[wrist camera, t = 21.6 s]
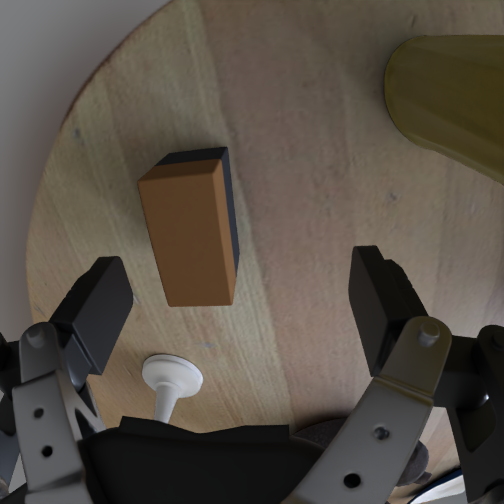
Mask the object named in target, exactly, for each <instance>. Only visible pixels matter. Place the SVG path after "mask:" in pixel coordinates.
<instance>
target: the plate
mask: <svg viewBox="0 0 504 504" xmlns="http://www.w3.org/2000/svg"><path fill="white" fill-rule="evenodd" d="M464 491H465V485H464V479H463V474H462V470H461V469H459V470H457V471H455V472H453V473H451V474H449V475H447V476H445V477H443V478H441V479H440V480H438V481H436V482H434V483H433V484H431V485H429V486H428V487H427V488H425V489H424V490H423V491H421V492H420V493H419V494H418V495H416V496H415V497H414V498H413V499H412V500H410V501H409V502H408V503H407V504H419V503H422V502H426V501H429V500H433V499H437V498H441V497H446V496H451V495H456V494H460V493H462V492H464Z"/></svg>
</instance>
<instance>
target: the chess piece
mask: <svg viewBox="0 0 504 504" xmlns="http://www.w3.org/2000/svg"><path fill="white" fill-rule="evenodd" d="M142 376H143V379H144V381H145V382H146V383H147V385H148V386H150V387H151V388H152V389H153V390H155V391H156V392H157V397H156V406H155V414H154V420H158V421H161V422H164V423H167V424H168V421H169V418H170V416H171V413H172V411H173V408H174V405H175V403H176V401H177V398H185V397H190V396H193V395H195V394H196V393H197V392H198V391H199V390H200V388H201V385H202V382H203V377H202V374H201V372H200V371H199V369H198V368H197V367H196V366H195V365H193V364H192V363H190V362H189V361H187V360H185V359H182V358H180V357H177V356H172V355H154V356H151V357H149V358H148V359H146V360H145V362H144V364H143V370H142Z"/></svg>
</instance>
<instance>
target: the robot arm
mask: <svg viewBox="0 0 504 504" xmlns="http://www.w3.org/2000/svg"><path fill="white" fill-rule="evenodd" d="M348 291H349V301H350V305H351V308H352V311H353V315H354V318H355V321H356V325H357V328H358V331H359V335H360V338H361V342H362V346H363V349H364V353H365V356H366V360H367V364H368V368H369V371H370V375H371V377H374V378H373V379H372V381H371V382H370V384H369V386H368V387H367V389H366V390H365V392H364V394H363V395H362V397H361V399H360V400H359V402H358V403H357V405H356V406H355V408H354V409H353V411H352V413H351V414H350V416H349V417H348V419H347V420H346V422H345V423H344V425H343V426H342V427H341V429H340V430H339V432H338V433H337V435H336V436H335V437H334V439H333V440H332V442H331V443H330V444H329V446H328V447H327V449H326V448H324V447H322V446H320V445H319V444H316V443H314V442H311V441H309V440H306V439H302V438H299V437H294V436H289V425H245V426H240V427H235V428H230V429H225V430H219V431H213V432H208V433H194V432H191V431H188V430H185V429H182V428H179V427H176V426H173V425H170V424H167V423H164V422H161V421H158V420H150V419H142V418H134V417H127V416H122V419H121V422H120V425H119V427H114V428H109V429H106V427H105V425H104V423H103V420H102V418H101V415H100V413H99V410H98V407H97V405H96V402H95V399H94V396H93V393H92V390H91V387H90V385H89V383H88V381H87V380H86V378H87V376H88V374H94V375H102V373H103V371H104V369H105V366H106V364H107V362H108V359H109V357H110V355H111V352H112V350H113V348H114V345H115V343H116V341H117V339H118V337H119V334H120V332H121V330H122V328H123V326H124V323H125V321H126V319H127V317H128V315H129V313H130V311H131V308H132V305H133V293H132V289H131V286H130V283H129V280H128V277H127V274H126V271H125V268H124V265H123V262H122V260H121V258H120V257H119V256H109V257H99V258H98V259H97V260H96V261H95V263H94V264H93V265H92V267H91V268H90V270H89V271H87V272H86V273H85V274H83V275H82V276H81V277H80V278H78V279H77V281H76V282H75V283H74V285H73V286H72V288H71V290H69V292H68V293H67V295H66V298H64V299H63V300H62V302H61V303H60V305H59V306H58V308H57V309H56V311H55V312H54V314H53V315H52V317H51V318H50V320H49V321H48V322H40V323H37V324H34V325H32V326H31V327H29V328H28V329H27V330H26V331H25V332H24V333H23V335H22V336H21V338H20V340H19V341H14V342H6V340H5V338H4V337H3V336H2V334H1V333H0V390H1V391H2V392H3V393H4V396H3V398H2V400H1V402H0V504H390V503H389V502H388V501H387V499H388V498H389V496H390V494H391V492H392V491H393V489H394V487H395V485H396V484H397V482H398V480H399V478H400V476H401V475H402V473H403V471H404V469H405V467H406V465H407V463H408V461H409V459H410V457H411V455H412V453H413V451H414V449H415V447H416V445H417V443H418V441H419V438H420V436H421V434H422V432H423V429H424V427H425V425H426V423H427V420H428V418H429V415H430V413H431V410H432V408H433V406H434V407H445V408H446V410H447V413H448V417H449V420H450V424H451V428H452V432H453V435H454V439H455V443H456V447H457V452H458V456H459V460H460V465H461V470H462V474H463V479H464V485H465V490H466V496H467V501H468V504H504V327H502V326H498V325H487V326H485V327H483V328H482V329H481V330H480V332H479V334H478V336H477V338H470V337H462V336H455V335H452V333H451V331H450V329H449V328H448V327H447V326H446V325H445V324H444V323H443V322H442V321H440V320H438V319H436V318H433V317H429V315H428V314H427V312H426V310H425V308H424V306H423V304H422V302H421V300H420V299H419V297H418V295H417V293H416V291H415V290H414V288H412V284H411V282H410V281H409V280H408V277H407V275H406V274H405V272H404V270H403V269H402V267H400V266H399V265H398V264H397V263H395V262H394V261H393V260H391V259H389V260H384V258H383V256H382V254H381V253H380V251H379V249H378V247H377V246H376V245H372V246H354V248H353V251H352V260H351V269H350V278H349V288H348ZM19 453H20V454H21V459H22V464H23V469H24V473H25V477H26V481H27V482H26V483H25V484H23V485H22V486H21V487H19V488H17V489H16V490H15V491H13V492H12V493H9V491H8V488H9V485H10V481H11V478H12V475H13V471H14V468H15V465H16V462H17V459H18V456H19Z"/></svg>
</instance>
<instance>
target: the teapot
mask: <svg viewBox="0 0 504 504" xmlns="http://www.w3.org/2000/svg"><path fill="white" fill-rule="evenodd" d="M347 419H348V418H342V419H337V420H331V421H327V422H323V423H319V424H316V425H313V426H310V427H307V428H305V429H303V430H301V431H299V432H296V433H295V434H294V435H292V436H294V437H299V438H302V439H306V440H309V441H311V442H314V443H316V444H319V445H320V446H322V447H324V448H326V449H327V447H328V446H329V444H330V443H331V442H332V440H333V439H334V437H335V436H336V435H337V433H338V432H339V430H340V429H341V427H342V426H343V425H344V423H345V422H346V420H347ZM428 459H429V455H428V450H427V448H426V446H425V445H424V444H423V443H421V442H420V441H418V443H417V445H416V447H415V449H414V451H413V453H412V455H411V457H410V459H409V461H408V463H407V465H406V467H405V469H404V471H403V473H402V475H401V476H400V478H399V480H398V482H397V484H396V485H395V486H398V487H399V486H405V485H409V484H411V483H416V484H422V485H423V484H426V483H427V482H428V481H429V479H430V477H431V476H432V474H431V473H428V472H425V470H426V467H427V464H428Z"/></svg>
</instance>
